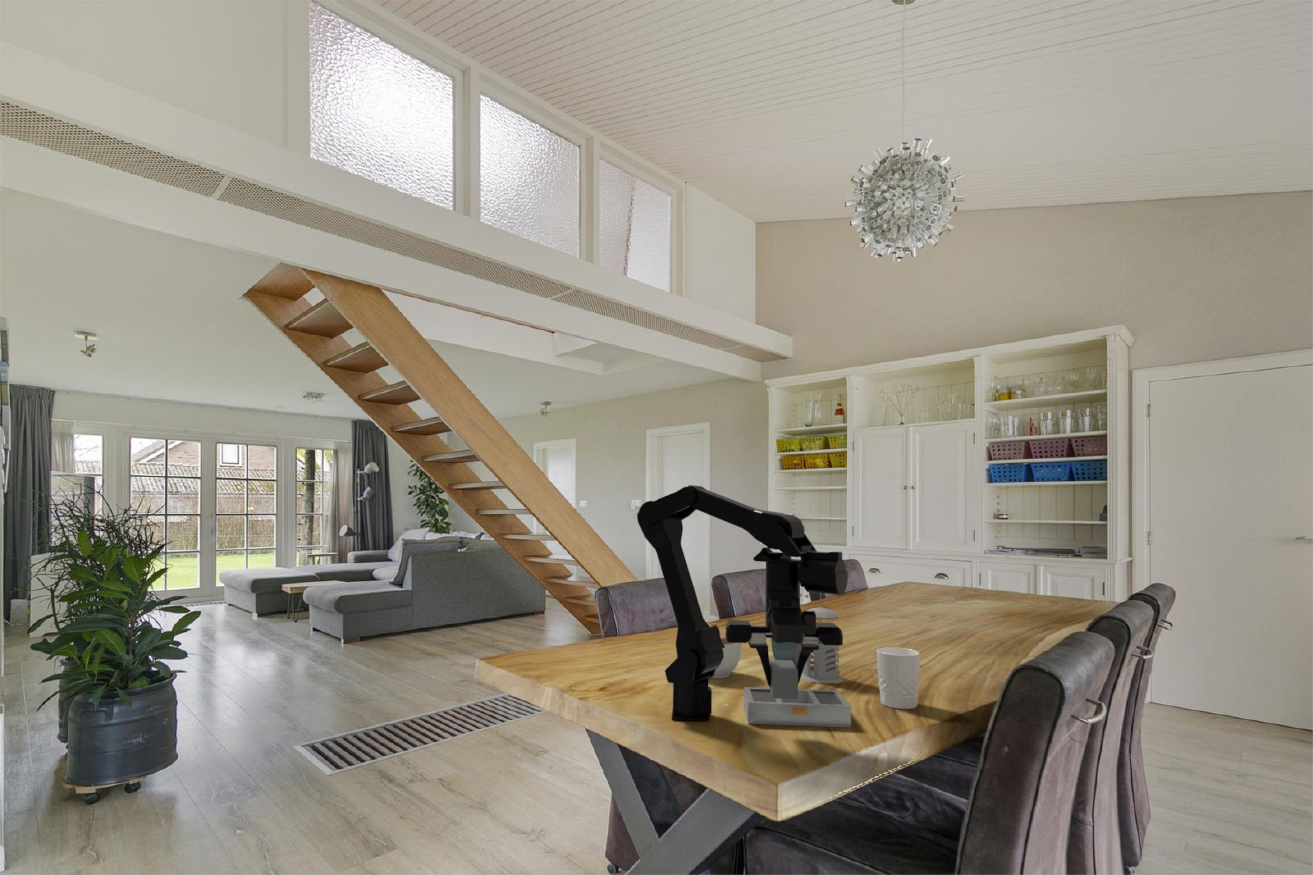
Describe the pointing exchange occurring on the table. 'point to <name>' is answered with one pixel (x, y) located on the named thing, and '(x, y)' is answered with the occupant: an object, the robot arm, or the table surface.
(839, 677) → the french press
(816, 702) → the rack
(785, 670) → the grey upright box
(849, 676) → the table surface
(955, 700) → the table surface
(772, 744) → the table surface
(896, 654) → the white cup
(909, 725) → the table surface
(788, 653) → the flower pot
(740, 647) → the lidded bowl
